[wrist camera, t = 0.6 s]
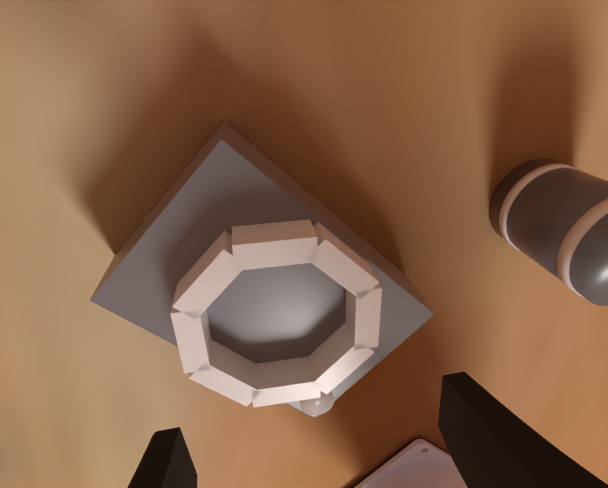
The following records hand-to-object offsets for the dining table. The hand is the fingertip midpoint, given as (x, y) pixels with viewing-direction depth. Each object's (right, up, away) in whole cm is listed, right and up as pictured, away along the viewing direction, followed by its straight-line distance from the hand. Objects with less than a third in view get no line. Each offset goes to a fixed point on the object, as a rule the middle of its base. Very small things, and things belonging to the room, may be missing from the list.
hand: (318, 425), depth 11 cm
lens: (+11, +7, +9) cm, 16 cm away
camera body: (-2, +4, +9) cm, 10 cm away
